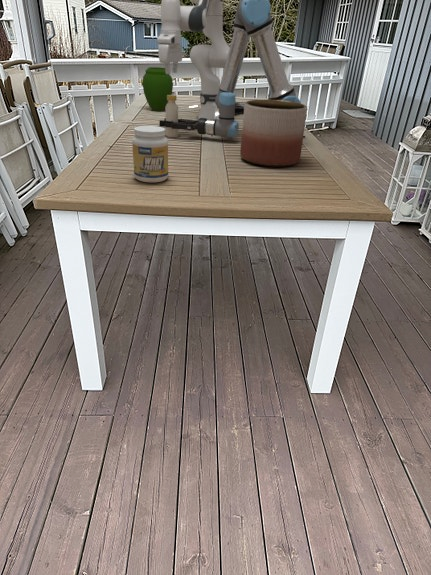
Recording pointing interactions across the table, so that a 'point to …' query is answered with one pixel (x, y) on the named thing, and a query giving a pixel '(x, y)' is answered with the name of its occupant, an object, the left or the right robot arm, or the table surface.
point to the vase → (157, 87)
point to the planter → (272, 132)
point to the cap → (171, 97)
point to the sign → (239, 107)
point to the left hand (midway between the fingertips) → (171, 73)
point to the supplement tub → (150, 154)
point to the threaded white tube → (171, 118)
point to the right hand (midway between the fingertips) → (162, 122)
